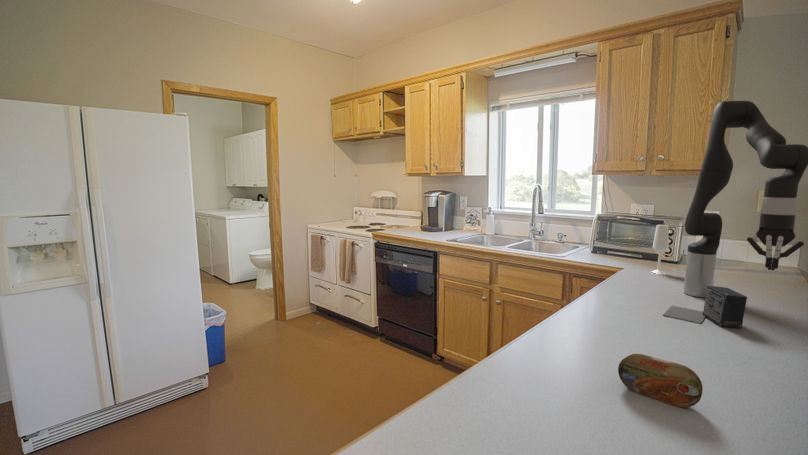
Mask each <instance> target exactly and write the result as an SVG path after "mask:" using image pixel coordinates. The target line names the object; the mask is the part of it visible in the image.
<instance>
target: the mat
mask: <svg viewBox="0 0 808 455" xmlns="http://www.w3.org/2000/svg"><path fill="white" fill-rule="evenodd" d="M703 311H704V310H702V311H701V310H696V309H692V308H687V307H682V306H676V305H671V306H670V307H668V309H667V310H666V311H665V312H664V313H663V314H662V316H663V317H667V318H671V319H676V320H681V321H686V322H689V323H695V324H700V325H702V323H703V322H704V320H705V318H706V317H705V316H704V315H703Z"/></svg>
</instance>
